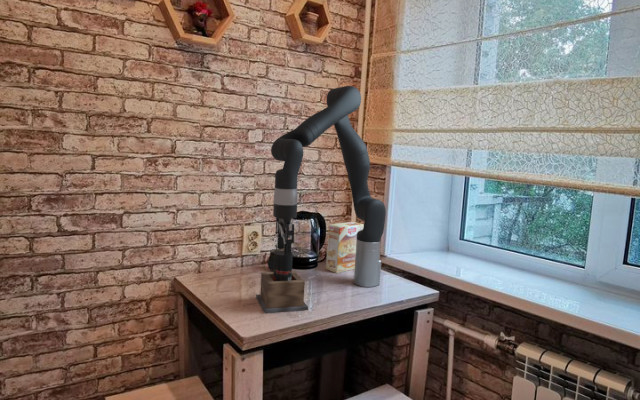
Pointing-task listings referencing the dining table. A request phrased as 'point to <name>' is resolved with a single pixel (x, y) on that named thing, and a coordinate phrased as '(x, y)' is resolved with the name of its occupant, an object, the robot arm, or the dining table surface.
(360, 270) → the robot arm
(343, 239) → the coffeecake box
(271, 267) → the mate gourd
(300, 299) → the sleeve holder
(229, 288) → the dining table surface
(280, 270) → the deodorant
